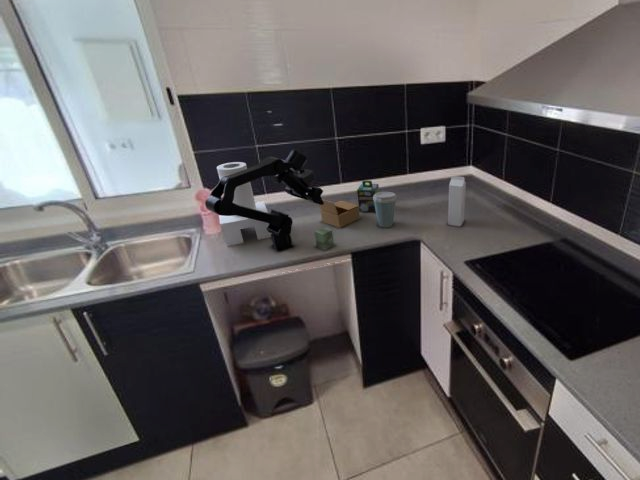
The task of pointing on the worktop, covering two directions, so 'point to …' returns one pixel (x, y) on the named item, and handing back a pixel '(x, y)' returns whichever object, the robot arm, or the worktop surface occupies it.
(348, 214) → the carton
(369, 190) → the chalk box
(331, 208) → the flap
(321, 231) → the block
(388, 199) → the disposable coffee cup
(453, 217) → the milk
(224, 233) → the paper towel holder
